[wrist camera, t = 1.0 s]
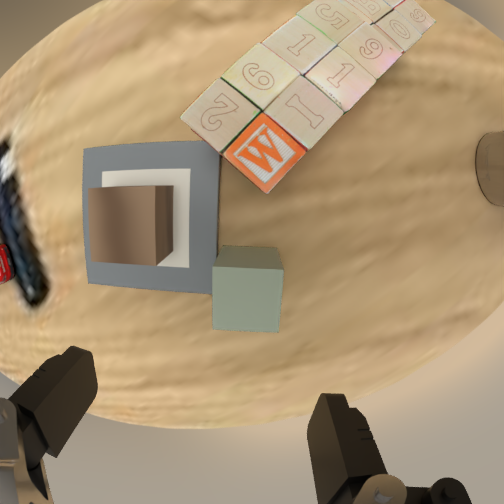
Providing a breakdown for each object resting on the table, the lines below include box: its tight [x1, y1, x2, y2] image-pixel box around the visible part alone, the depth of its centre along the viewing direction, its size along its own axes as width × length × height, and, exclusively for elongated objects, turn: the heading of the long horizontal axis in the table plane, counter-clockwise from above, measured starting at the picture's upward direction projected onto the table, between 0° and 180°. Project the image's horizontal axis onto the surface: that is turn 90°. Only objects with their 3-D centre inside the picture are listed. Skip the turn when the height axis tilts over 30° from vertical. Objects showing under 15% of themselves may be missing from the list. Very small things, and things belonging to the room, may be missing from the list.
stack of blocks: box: [180, 0, 436, 194], centre depth 18 cm, size 21×6×12 cm, turn 137°
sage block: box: [212, 245, 284, 333], centre depth 24 cm, size 5×5×7 cm
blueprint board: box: [82, 141, 221, 294], centre depth 23 cm, size 14×14×6 cm
